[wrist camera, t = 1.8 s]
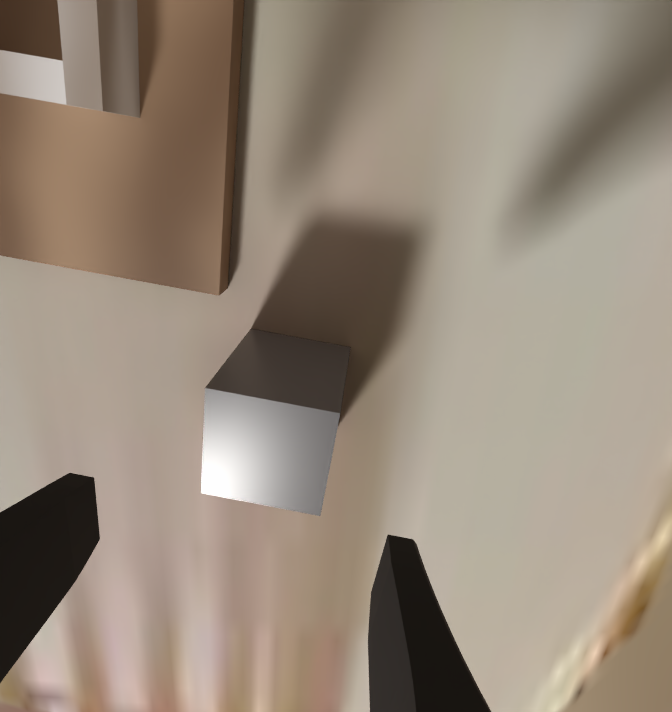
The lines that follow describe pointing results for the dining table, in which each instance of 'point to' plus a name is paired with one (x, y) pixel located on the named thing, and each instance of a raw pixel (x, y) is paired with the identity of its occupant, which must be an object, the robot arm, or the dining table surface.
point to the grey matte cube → (273, 421)
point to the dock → (120, 136)
